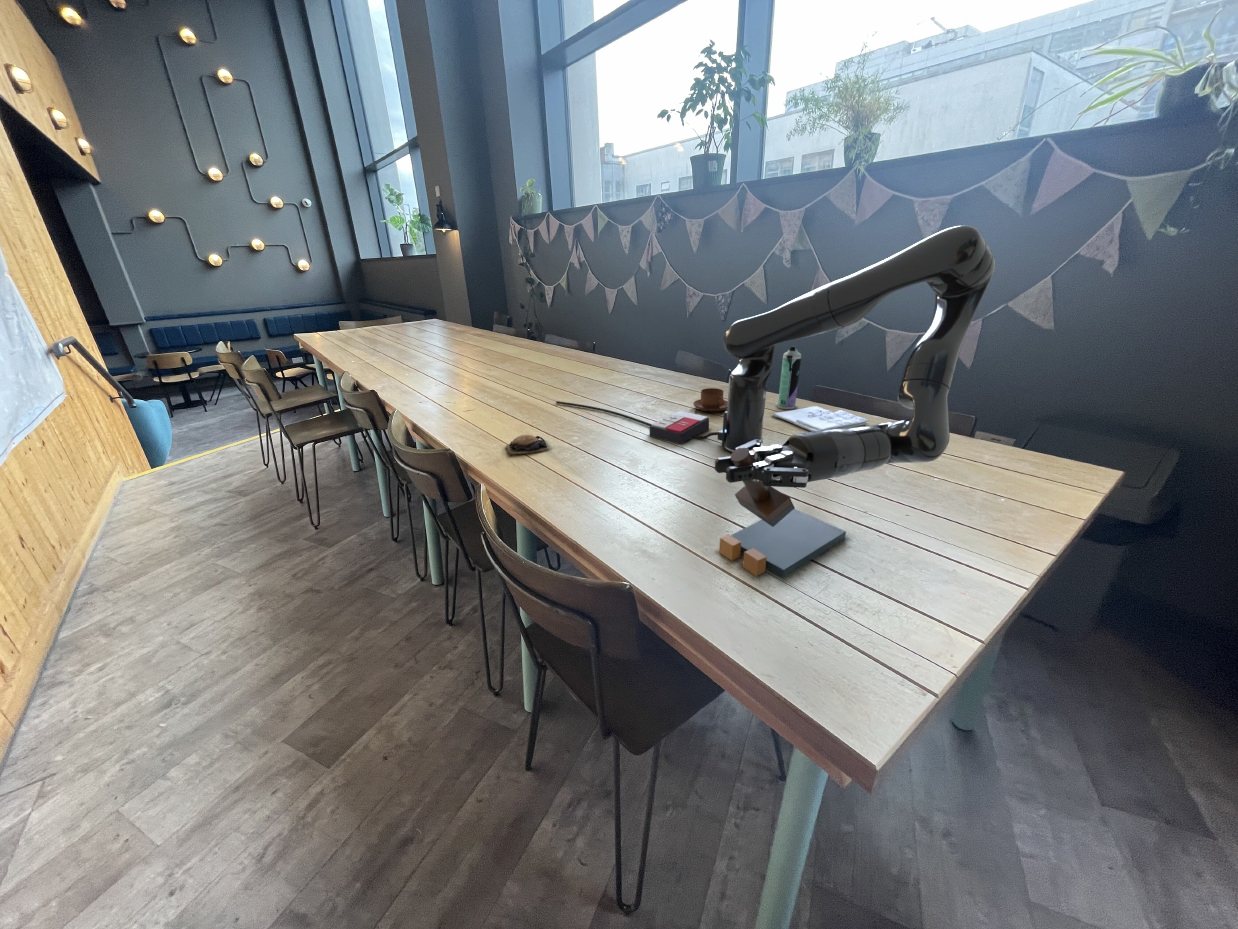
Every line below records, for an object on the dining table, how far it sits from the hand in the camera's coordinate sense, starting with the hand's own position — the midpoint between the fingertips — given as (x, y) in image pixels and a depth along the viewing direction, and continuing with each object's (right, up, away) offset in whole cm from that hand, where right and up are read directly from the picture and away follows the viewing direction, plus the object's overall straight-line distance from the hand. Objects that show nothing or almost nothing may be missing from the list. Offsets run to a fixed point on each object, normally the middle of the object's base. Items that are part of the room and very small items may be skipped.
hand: (722, 470), depth 68 cm
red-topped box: (+3, +10, +69) cm, 70 cm away
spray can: (+41, +20, +89) cm, 100 cm away
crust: (+8, -15, +8) cm, 18 cm away
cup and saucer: (+16, +19, +89) cm, 93 cm away
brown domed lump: (-40, +5, +61) cm, 73 cm away
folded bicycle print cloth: (+46, +14, +75) cm, 89 cm away
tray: (+15, -13, +15) cm, 25 cm away
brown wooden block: (+5, -13, +12) cm, 18 cm away
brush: (+8, -6, +6) cm, 11 cm away
